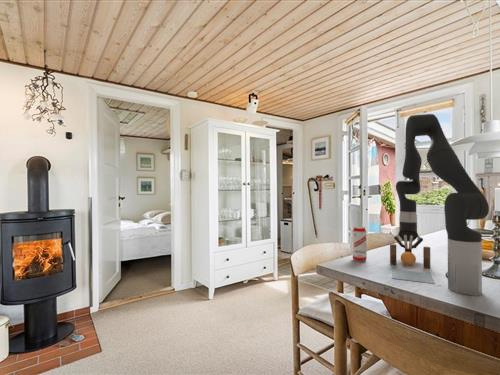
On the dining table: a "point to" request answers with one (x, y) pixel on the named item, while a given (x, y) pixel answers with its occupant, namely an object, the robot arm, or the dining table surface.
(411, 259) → the ball
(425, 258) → the right post
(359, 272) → the dining table surface
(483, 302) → the dining table surface
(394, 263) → the left post
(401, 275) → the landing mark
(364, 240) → the beer can
